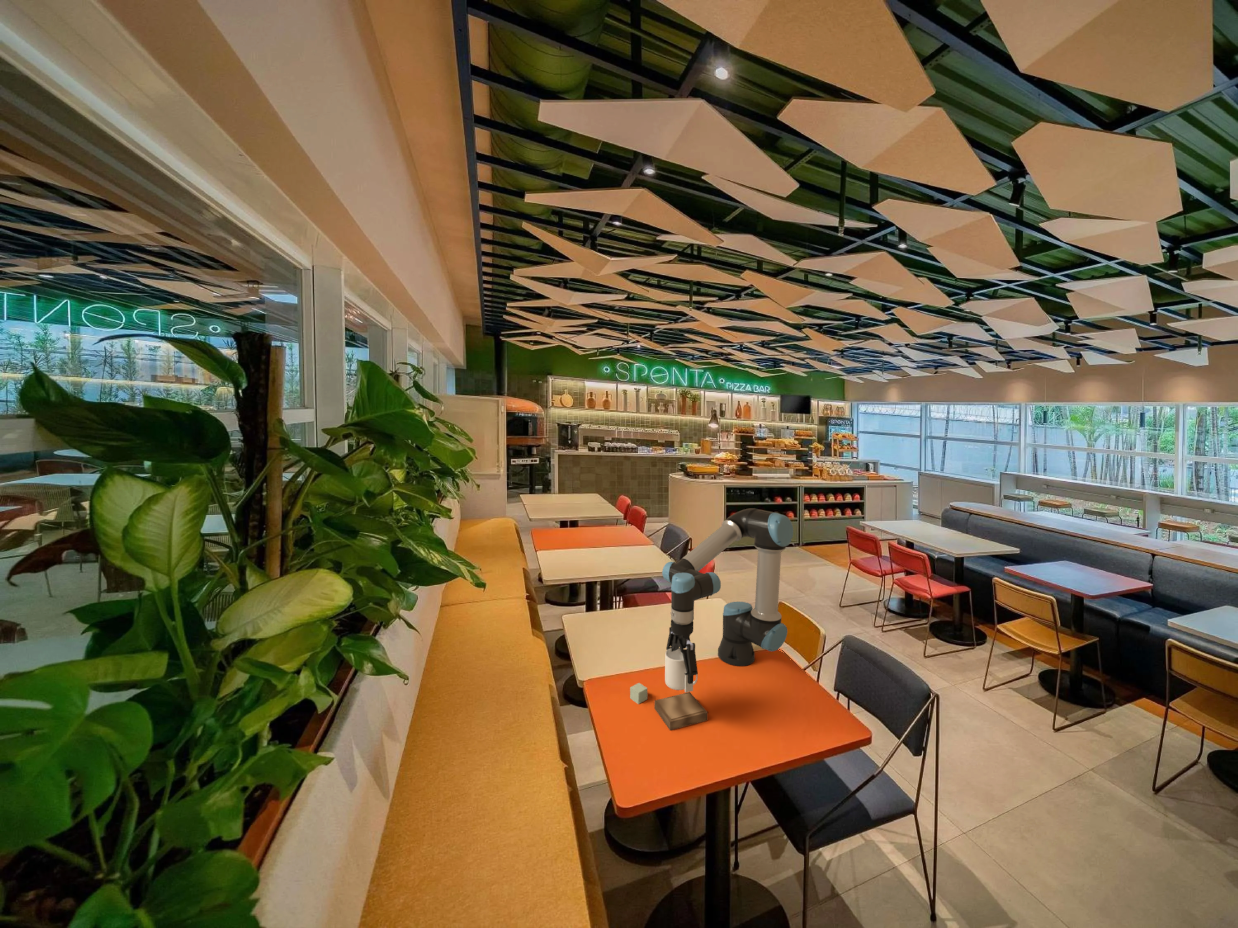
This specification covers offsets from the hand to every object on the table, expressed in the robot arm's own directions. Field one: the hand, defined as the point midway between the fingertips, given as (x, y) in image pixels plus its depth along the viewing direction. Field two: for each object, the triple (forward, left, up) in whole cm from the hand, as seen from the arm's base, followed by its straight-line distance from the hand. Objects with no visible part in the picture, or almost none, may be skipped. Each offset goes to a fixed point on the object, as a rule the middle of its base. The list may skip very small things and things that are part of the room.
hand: (680, 681), depth 159 cm
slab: (0, 0, -12) cm, 12 cm away
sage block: (+10, -13, -12) cm, 20 cm away
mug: (0, +1, -1) cm, 1 cm away
